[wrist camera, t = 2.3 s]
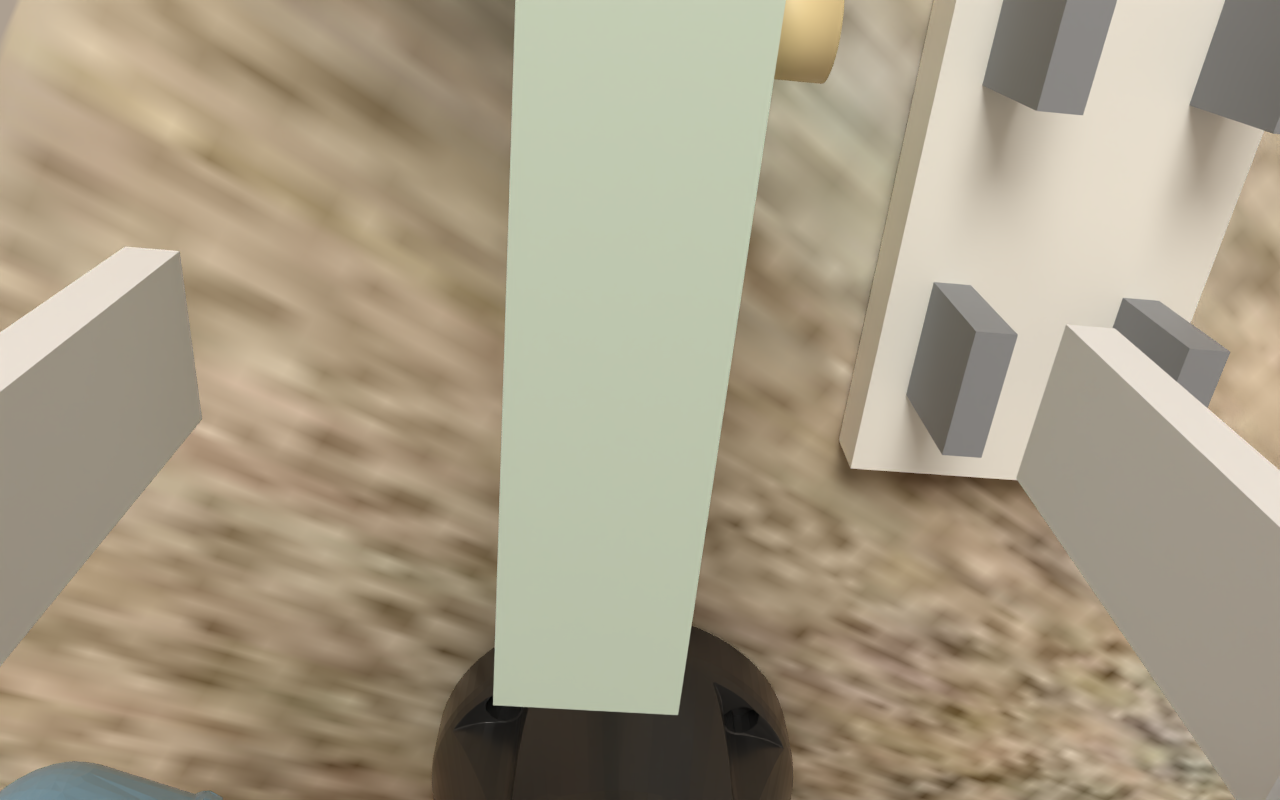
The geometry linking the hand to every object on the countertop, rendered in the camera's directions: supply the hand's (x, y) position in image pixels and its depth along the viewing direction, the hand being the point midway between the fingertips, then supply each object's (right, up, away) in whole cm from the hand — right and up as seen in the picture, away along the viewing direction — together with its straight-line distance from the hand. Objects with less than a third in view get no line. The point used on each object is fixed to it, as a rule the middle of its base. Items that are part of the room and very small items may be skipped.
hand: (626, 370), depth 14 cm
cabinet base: (+13, +7, +16) cm, 22 cm away
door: (-1, +8, +16) cm, 17 cm away
